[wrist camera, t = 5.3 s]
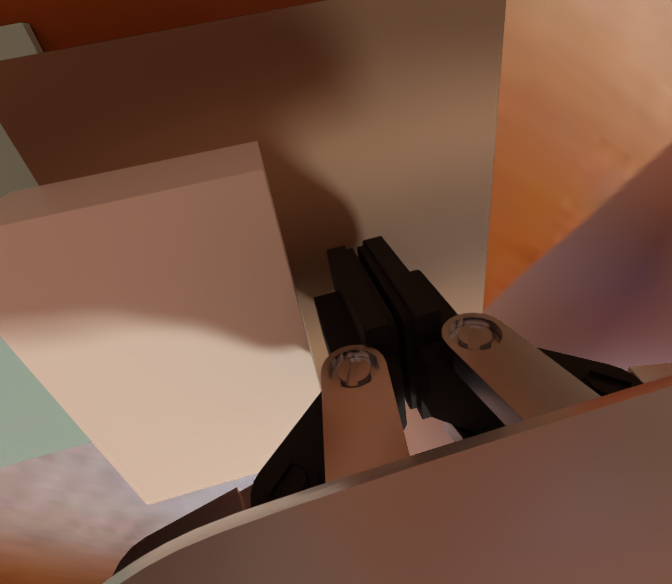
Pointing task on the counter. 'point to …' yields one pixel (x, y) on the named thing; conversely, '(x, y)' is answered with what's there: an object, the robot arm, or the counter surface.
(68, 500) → the counter surface
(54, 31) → the counter surface
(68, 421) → the mat
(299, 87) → the plate
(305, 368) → the beige rectangular block
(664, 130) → the counter surface
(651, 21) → the counter surface
